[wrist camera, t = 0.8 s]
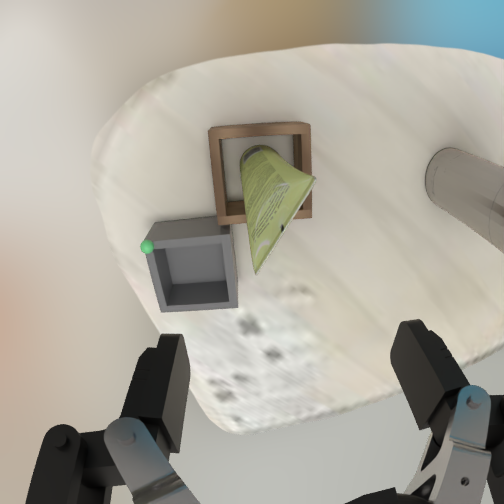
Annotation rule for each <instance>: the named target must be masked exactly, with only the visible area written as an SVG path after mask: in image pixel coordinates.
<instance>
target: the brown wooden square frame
mask: <svg viewBox="0 0 504 504" xmlns="http://www.w3.org/2000/svg"><path fill="white" fill-rule="evenodd" d="M286 134H293V148H294V168H296V169H298V170H299V171H301V172H303V173H305V174H308V175H312V167H311V129H310V124H307V123H304V122H274V123H256V124H242V125H230V126H220V127H211V128H210V129H209V130H208V137H209V147H210V157H211V166H212V175H213V185H214V193H215V202H216V211H217V219H218V225H228V224H240V223H247V219H246V212H245V204H244V201H234V202H227V194H226V184H225V174H224V164H223V153H222V142H221V139H226V138H238V137H251V136H266V135H286ZM304 218H312V190H311V191H310V193H309V195H308V196H307V198H306V199H305V201H304V202H303V204H302V205H301V207H300V208H299V210H298V212H297V213H296V215H295V216H294V218H293V219H304Z"/></svg>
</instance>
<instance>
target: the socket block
mask: <svg viewBox="0 0 504 504" xmlns="http://www.w3.org/2000/svg"><path fill="white" fill-rule="evenodd" d="M140 248H141V251H142V252H143V253H145V254H146V258H147V262H148V266H149V270H150V274H151V278H152V282H153V285H154V289H155V293H156V296H157V300H158V303H159V307H160V310H161V312H181V311H198V310H213V309H227V308H238V280H237V271H236V262H235V253H234V243H233V234H232V224H228V225H218V219H217V216H214V217H204V218H193V219H183V220H174V221H164V222H155V223H154V224H153V226H152V228H151V229H150V231H149V233H148V234H147V236H146V238H145V239H144V241H143V242H142V243H141V246H140Z"/></svg>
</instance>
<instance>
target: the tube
mask: <svg viewBox="0 0 504 504" xmlns="http://www.w3.org/2000/svg"><path fill="white" fill-rule="evenodd" d="M240 172H241V181H242V188H243V196H244V204H245V212H246V219H247V227H248V234H249V241H250V249H251V256H252V262H253V267H254V271H255V275H256V276H257V275H258V273H259V271H260V270H261V268H262V266H263V265H264V263H265V262H266V260H267V258H268V257H269V255H270V254H271V252H272V251H273V249H274V248H275V246H276V245H277V243H278V241H279V240H280V238H281V237H282V235H283V233H284V232H285V230H286V229H287V227H288V226H289V224H290V223H291V221H292V219H293V218H294V216H295V215H296V213H297V212H298V210H299V208H300V207H301V205H302V204H303V202H304V201H305V199H306V198H307V196H308V195H309V193H310V191H311V190H312V188H313V186H314V185H315V183H316V181H317V180H316V178H315V177H314V176H312V175H308V174H305V173H303V172H301V171H299V170H298V169H296V168H294V167H293V166H291V165H290V164H288V163H287V162H286V161H285V160H284V159H283V158H282V157H281V156H280V155H279V154H278V153H277V152H276V151H275V150H273V149H272V148H270V147H268V146H264V145H257V146H254V147H251V148H249V149H248V150H247V151H246V152H245V153H244V154H243V156H242V158H241V161H240Z"/></svg>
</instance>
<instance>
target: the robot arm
mask: <svg viewBox="0 0 504 504" xmlns="http://www.w3.org/2000/svg"><path fill="white" fill-rule="evenodd" d="M426 190H427V193H428V196H429V197H430V199H431V200H432V201H433V202H434V203H435V204H436V205H437V206H439V207H441V208H442V209H444V210H445V211H447V212H448V213H449V214H451V215H452V216H454V217H455V218H457V219H458V220H460V221H461V222H462V223H464V224H465V225H467V226H468V227H470V228H471V229H472V230H474V231H475V232H476V233H478V234H479V235H481V236H482V237H483V238H485V239H486V240H487V241H489V242H490V243H491V244H493V245H494V246H495V247H496V248H498V249H499V250H500V251H502V252H503V253H504V167H502V166H500V165H497V164H495V163H492V162H490V161H487V160H485V159H482V158H479V157H477V156H474V155H472V154H469V153H466V152H463V151H460V150H457V149H455V148H446V149H443V150H441V151H439V152H438V153H437V154H436V155H435V156H434V157H433V159H432V160H431V162H430V164H429V166H428V169H427V173H426ZM390 359H391V364H392V367H393V369H394V371H395V373H396V376H397V378H398V380H399V382H400V385H401V387H402V389H403V392H404V394H405V396H406V399H407V401H408V403H409V406H410V408H411V410H412V413H413V415H414V417H415V420H416V423H417V425H418V428H419V430H422V429H425V428H429V427H430V428H431V431H432V432H431V434H430V436H429V438H428V441H427V444H426V447H425V450H424V453H423V455H422V458H421V461H420V463H419V466H418V469H417V471H416V474H415V476H414V478H413V479H412V481H411V482H410V483H409V485H408V486H407V488H406V490H405V492H404V494H399V493H396V489H395V487H393V488H390V489H386V490H382V491H378V492H375V493H370V494H366V495H363V496H361V497H359V498H356V499H354V500H352V501H350V502H348V503H345V504H480V503H481V499H482V495H483V492H484V488H485V484H486V480H487V482H488V485H489V488H490V492H491V495H492V498H493V502H494V504H504V395H488V393H487V392H486V391H485V390H484V389H483V388H481V387H479V386H476V385H470V384H469V382H468V380H467V379H466V377H465V375H464V374H463V372H462V370H461V369H460V367H459V365H458V364H457V362H456V361H455V359H454V357H452V354H451V353H450V351H449V349H448V350H447V346H446V345H445V343H444V342H443V340H442V339H441V338H440V337H439V336H438V335H437V334H435V333H434V332H433V331H432V330H430V331H428V329H427V328H426V326H425V325H424V323H423V322H422V321H421V320H420V319H416V320H409V321H402V322H401V323H400V325H399V328H398V331H397V334H396V337H395V340H394V343H393V346H392V349H391V353H390ZM189 382H190V363H189V358H188V354H187V350H186V345H185V341H184V337H183V335H182V334H161V335H160V338H159V341H158V345H157V348H150V347H149V348H147V349H146V350H145V351H144V352H143V353H142V355H141V356H140V357H139V359H138V362H137V365H136V368H135V371H134V374H133V377H132V381H131V383H130V386H129V390H128V393H127V396H126V399H125V402H124V406H123V409H122V412H121V415H120V417H119V419H116V420H115V421H113V422H112V423H111V424H109V425H108V427H107V428H106V429H105V430H101V431H94V432H85V433H78V432H77V431H76V429H75V428H73V427H72V426H69V425H66V424H60V425H57V426H54V427H52V428H51V429H50V430H49V431H48V432H47V433H46V435H45V437H44V439H43V442H42V445H41V449H40V452H39V455H38V458H37V461H36V465H35V469H34V472H33V475H32V479H31V483H30V487H29V491H28V495H27V499H26V504H110V500H111V494H112V487H113V486H118V485H127V487H128V488H129V490H130V492H131V494H132V496H133V502H134V504H200V503H199V501H198V500H197V499H196V498H195V496H194V495H193V494H192V492H191V491H190V490H189V489H188V487H187V486H186V485H185V484H184V482H183V481H182V480H181V478H180V477H179V476H178V475H177V473H176V472H175V471H174V469H173V468H172V466H171V465H170V463H169V456H170V453H179V452H180V444H181V437H182V429H183V421H184V415H185V408H186V402H187V395H188V388H189Z"/></svg>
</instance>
